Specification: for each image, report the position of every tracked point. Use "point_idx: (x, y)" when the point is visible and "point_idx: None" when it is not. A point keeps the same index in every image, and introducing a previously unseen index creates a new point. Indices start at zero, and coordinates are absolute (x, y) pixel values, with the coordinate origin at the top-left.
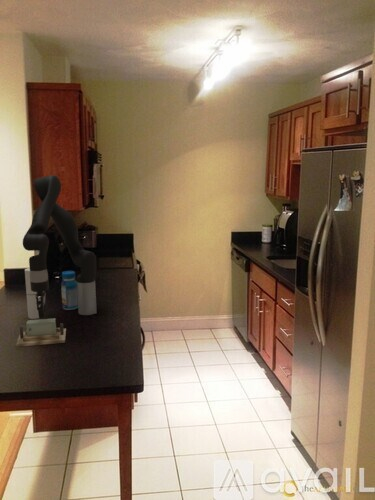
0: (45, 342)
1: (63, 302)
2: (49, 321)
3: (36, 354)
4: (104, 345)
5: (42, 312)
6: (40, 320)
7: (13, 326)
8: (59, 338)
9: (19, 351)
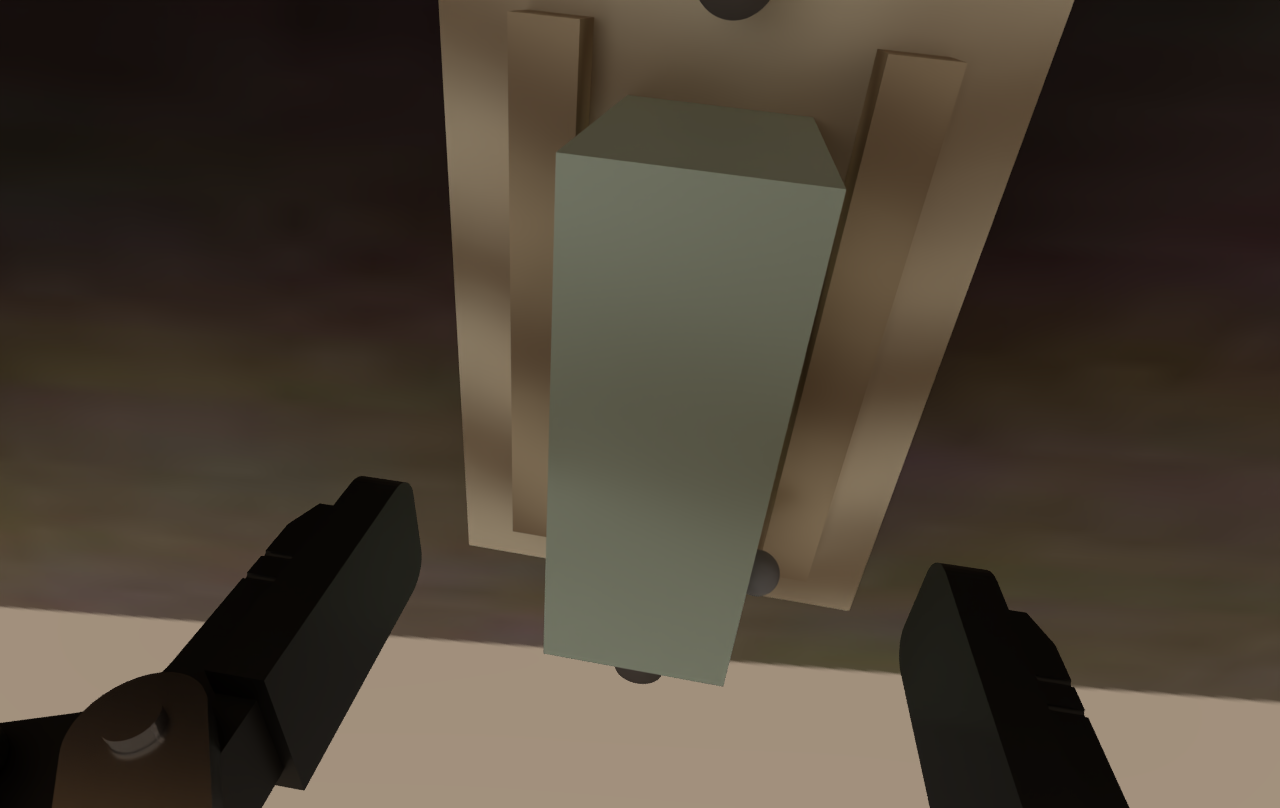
0: (959, 295)
1: None
2: (760, 320)
3: (1269, 422)
4: None
5: (1112, 775)
6: (616, 484)
7: (224, 562)
8: (950, 47)
9: (1009, 572)
